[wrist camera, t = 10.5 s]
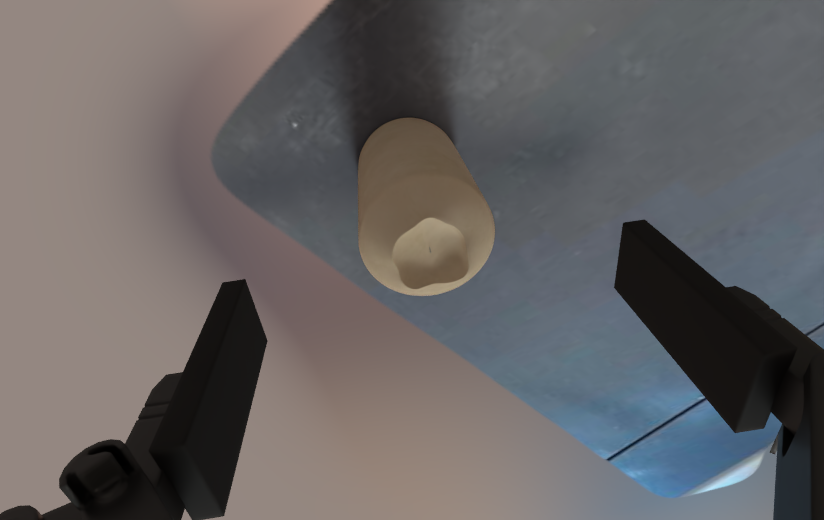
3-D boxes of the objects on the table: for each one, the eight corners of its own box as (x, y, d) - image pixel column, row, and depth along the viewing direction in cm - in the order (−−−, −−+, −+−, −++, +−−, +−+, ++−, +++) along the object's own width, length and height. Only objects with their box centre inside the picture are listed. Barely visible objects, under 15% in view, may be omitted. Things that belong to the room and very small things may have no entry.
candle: (476, 153, 26) (534, 239, 18) (418, 227, 28) (445, 337, 20) (395, 94, 24) (416, 160, 16) (339, 179, 26) (330, 278, 18)
